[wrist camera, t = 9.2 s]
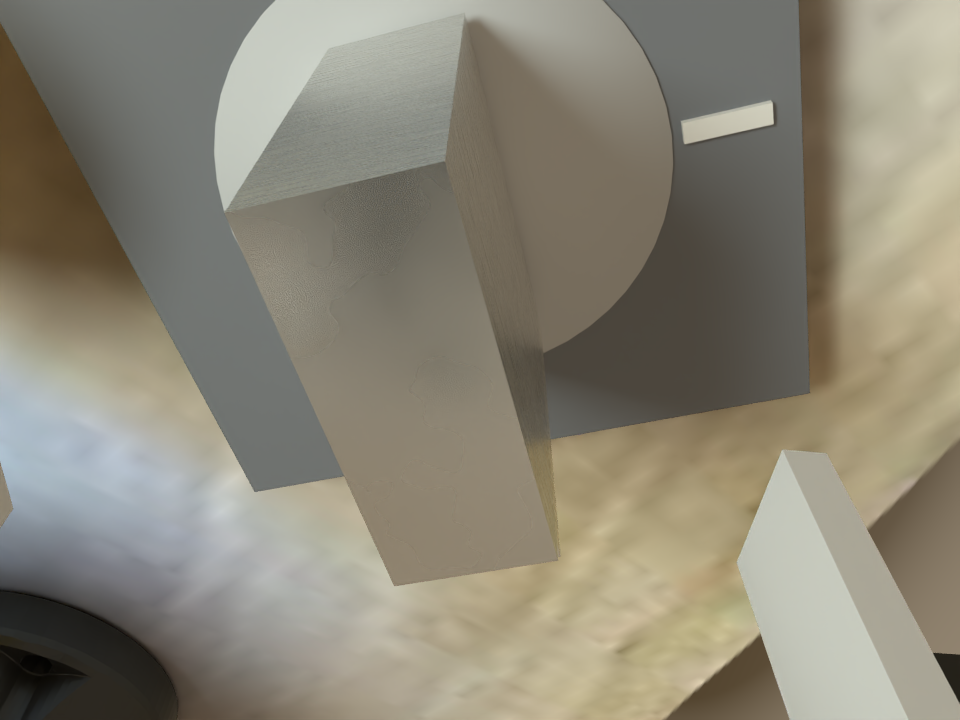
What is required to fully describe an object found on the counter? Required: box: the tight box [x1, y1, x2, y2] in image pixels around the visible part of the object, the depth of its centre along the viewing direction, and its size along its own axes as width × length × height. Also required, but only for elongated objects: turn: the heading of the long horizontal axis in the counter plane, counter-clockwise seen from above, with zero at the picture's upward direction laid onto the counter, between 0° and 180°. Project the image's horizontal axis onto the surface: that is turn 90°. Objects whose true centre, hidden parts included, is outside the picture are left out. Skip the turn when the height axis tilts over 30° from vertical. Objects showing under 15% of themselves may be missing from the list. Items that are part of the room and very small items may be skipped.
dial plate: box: [0, 0, 810, 492], centre depth 25 cm, size 20×20×3 cm
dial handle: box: [224, 13, 561, 586], centre depth 20 cm, size 9×4×10 cm, turn 14°
